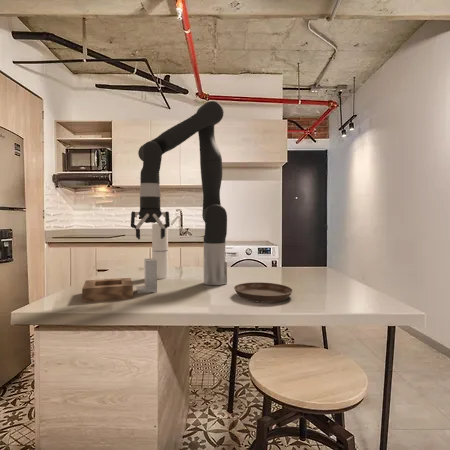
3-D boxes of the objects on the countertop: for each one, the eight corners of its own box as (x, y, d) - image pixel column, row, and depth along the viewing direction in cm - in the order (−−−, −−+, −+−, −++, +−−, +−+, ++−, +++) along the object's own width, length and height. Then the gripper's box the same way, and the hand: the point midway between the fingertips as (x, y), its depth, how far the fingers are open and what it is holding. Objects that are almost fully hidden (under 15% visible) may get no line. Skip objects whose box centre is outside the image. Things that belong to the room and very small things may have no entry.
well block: (130, 289, 123) (130, 277, 122) (132, 298, 109) (132, 285, 109) (85, 292, 117) (85, 280, 117) (82, 302, 104) (82, 288, 104)
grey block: (155, 288, 124) (154, 258, 123) (157, 292, 118) (156, 260, 118) (136, 290, 121) (136, 259, 121) (137, 293, 116) (137, 261, 115)
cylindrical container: (149, 278, 144) (148, 223, 143) (158, 275, 151) (157, 223, 150) (162, 279, 141) (162, 223, 141) (171, 276, 148) (170, 223, 147)
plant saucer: (280, 289, 124) (280, 280, 124) (302, 303, 104) (302, 293, 104) (229, 291, 121) (229, 282, 121) (241, 306, 101) (241, 296, 100)
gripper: (167, 196, 125) (167, 237, 125) (130, 196, 120) (130, 238, 121) (170, 195, 118) (170, 239, 118) (130, 195, 113) (131, 240, 114)
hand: (150, 238), depth 120 cm, fingers open, 8 cm apart
